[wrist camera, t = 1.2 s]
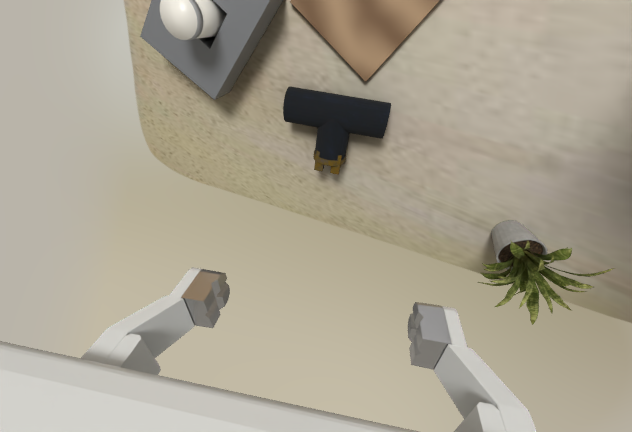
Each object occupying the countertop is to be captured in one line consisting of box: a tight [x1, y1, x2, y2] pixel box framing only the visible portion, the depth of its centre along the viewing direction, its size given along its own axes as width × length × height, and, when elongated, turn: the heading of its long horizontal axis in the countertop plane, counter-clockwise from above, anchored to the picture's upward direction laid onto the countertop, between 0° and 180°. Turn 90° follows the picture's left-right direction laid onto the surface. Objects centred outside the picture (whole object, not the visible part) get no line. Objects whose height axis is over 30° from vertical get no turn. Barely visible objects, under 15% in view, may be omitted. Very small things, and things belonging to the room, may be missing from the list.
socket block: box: [140, 0, 283, 100], centre depth 37 cm, size 16×12×5 cm
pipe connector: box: [283, 87, 391, 174], centre depth 43 cm, size 12×5×15 cm
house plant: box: [481, 220, 614, 324], centre depth 42 cm, size 14×14×16 cm
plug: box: [160, 0, 227, 40], centre depth 35 cm, size 4×4×10 cm
